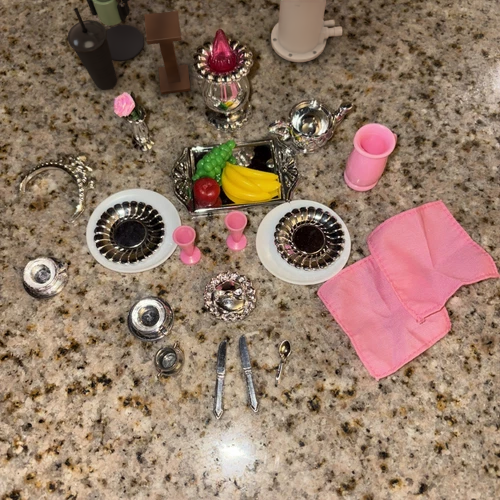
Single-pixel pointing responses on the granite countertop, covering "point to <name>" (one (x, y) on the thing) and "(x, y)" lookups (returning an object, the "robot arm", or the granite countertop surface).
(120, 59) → the coaster
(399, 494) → the granite countertop surface
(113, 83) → the drinking cup
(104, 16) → the sage cup
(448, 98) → the granite countertop surface
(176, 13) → the stand
